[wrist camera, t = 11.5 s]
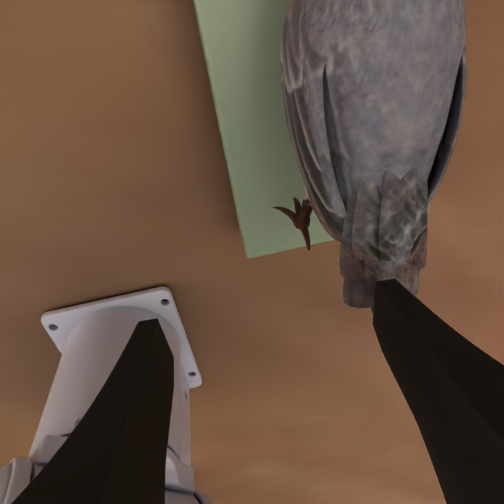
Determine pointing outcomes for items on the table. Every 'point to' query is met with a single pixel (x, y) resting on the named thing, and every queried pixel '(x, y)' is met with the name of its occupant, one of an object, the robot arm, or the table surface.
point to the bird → (372, 126)
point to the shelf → (254, 120)
